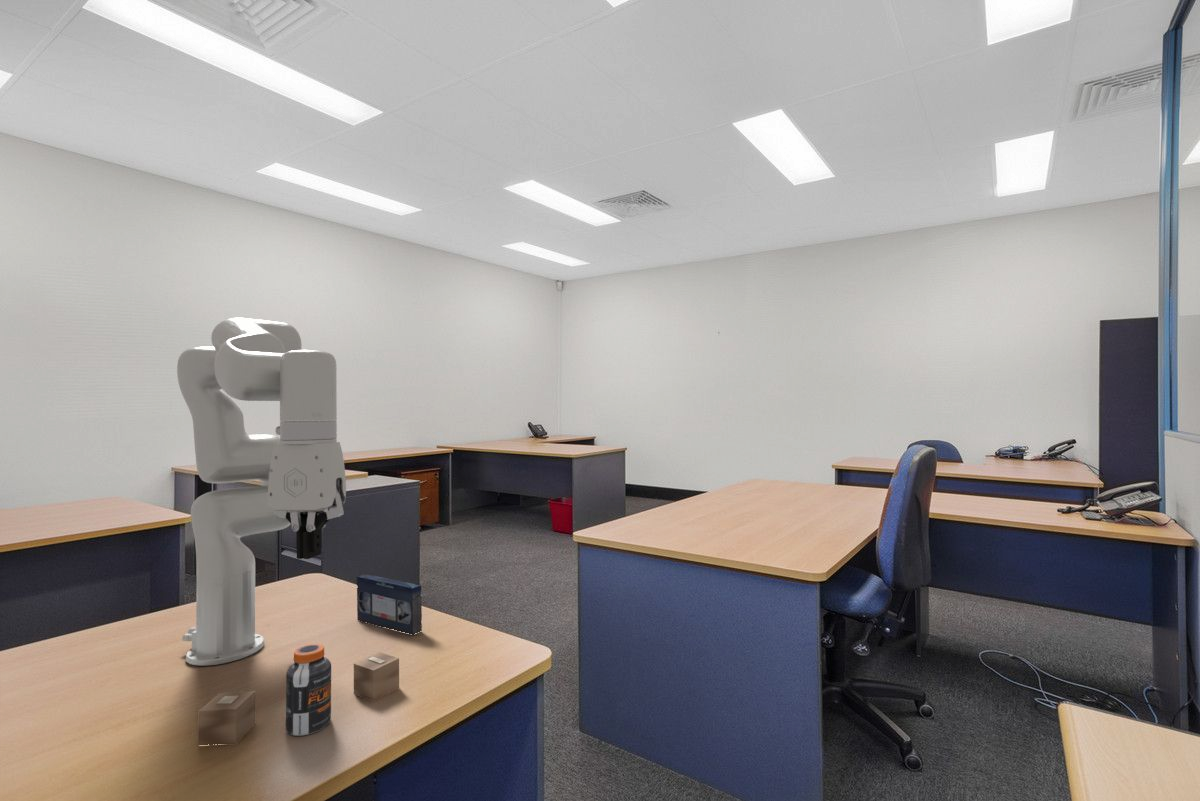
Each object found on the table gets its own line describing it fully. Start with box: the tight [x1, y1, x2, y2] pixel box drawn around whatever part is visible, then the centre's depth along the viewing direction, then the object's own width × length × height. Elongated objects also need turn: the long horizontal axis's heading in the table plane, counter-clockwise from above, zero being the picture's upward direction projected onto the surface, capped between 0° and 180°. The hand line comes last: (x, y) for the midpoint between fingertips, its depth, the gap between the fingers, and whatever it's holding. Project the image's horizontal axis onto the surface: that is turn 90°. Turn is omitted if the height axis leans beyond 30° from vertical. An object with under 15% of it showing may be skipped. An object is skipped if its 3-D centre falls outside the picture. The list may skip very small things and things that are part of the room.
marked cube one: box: [197, 690, 256, 746], centre depth 79 cm, size 5×5×5 cm
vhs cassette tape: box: [356, 573, 423, 636], centre depth 119 cm, size 18×3×10 cm, turn 58°
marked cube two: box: [353, 651, 400, 702], centre depth 91 cm, size 5×5×5 cm
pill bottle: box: [285, 643, 332, 737], centre depth 81 cm, size 6×6×11 cm
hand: (309, 556), depth 82 cm, fingers closed
